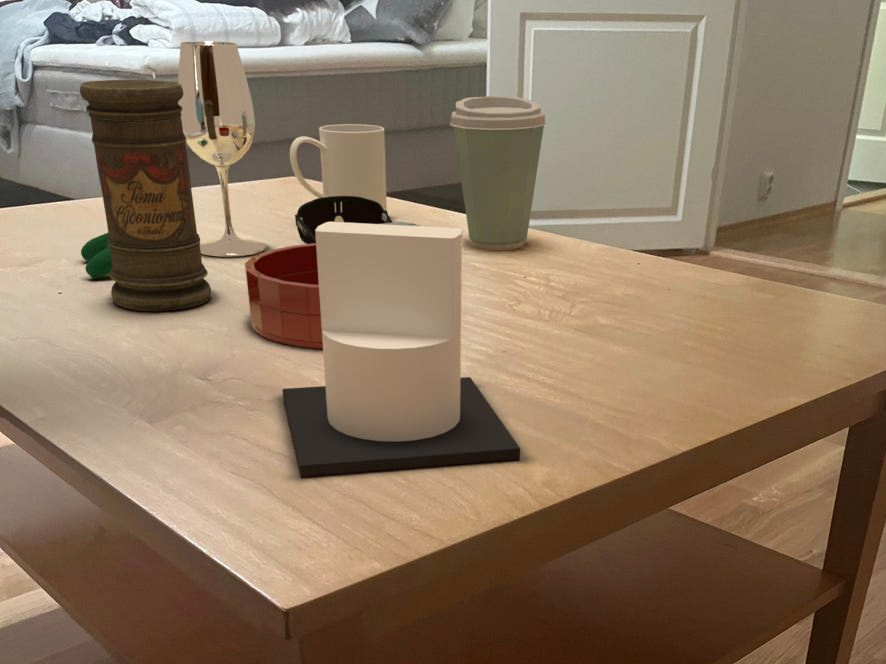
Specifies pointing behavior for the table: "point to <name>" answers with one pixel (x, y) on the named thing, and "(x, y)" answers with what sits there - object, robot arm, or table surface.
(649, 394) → the table surface
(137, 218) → the container
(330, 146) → the mug
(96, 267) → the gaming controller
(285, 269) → the red round dish
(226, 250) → the wineglass
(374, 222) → the sunglasses
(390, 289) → the base with upright slab
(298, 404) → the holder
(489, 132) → the disposable coffee cup
